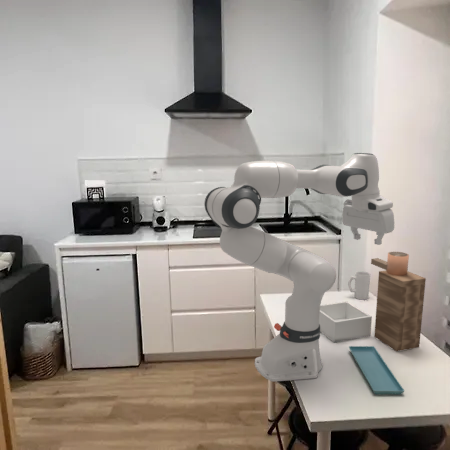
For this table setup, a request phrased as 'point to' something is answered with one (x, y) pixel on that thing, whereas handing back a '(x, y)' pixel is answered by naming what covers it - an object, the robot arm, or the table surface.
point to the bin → (344, 322)
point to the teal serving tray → (376, 370)
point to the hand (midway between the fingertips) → (367, 241)
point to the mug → (360, 285)
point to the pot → (394, 263)
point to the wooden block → (399, 310)
